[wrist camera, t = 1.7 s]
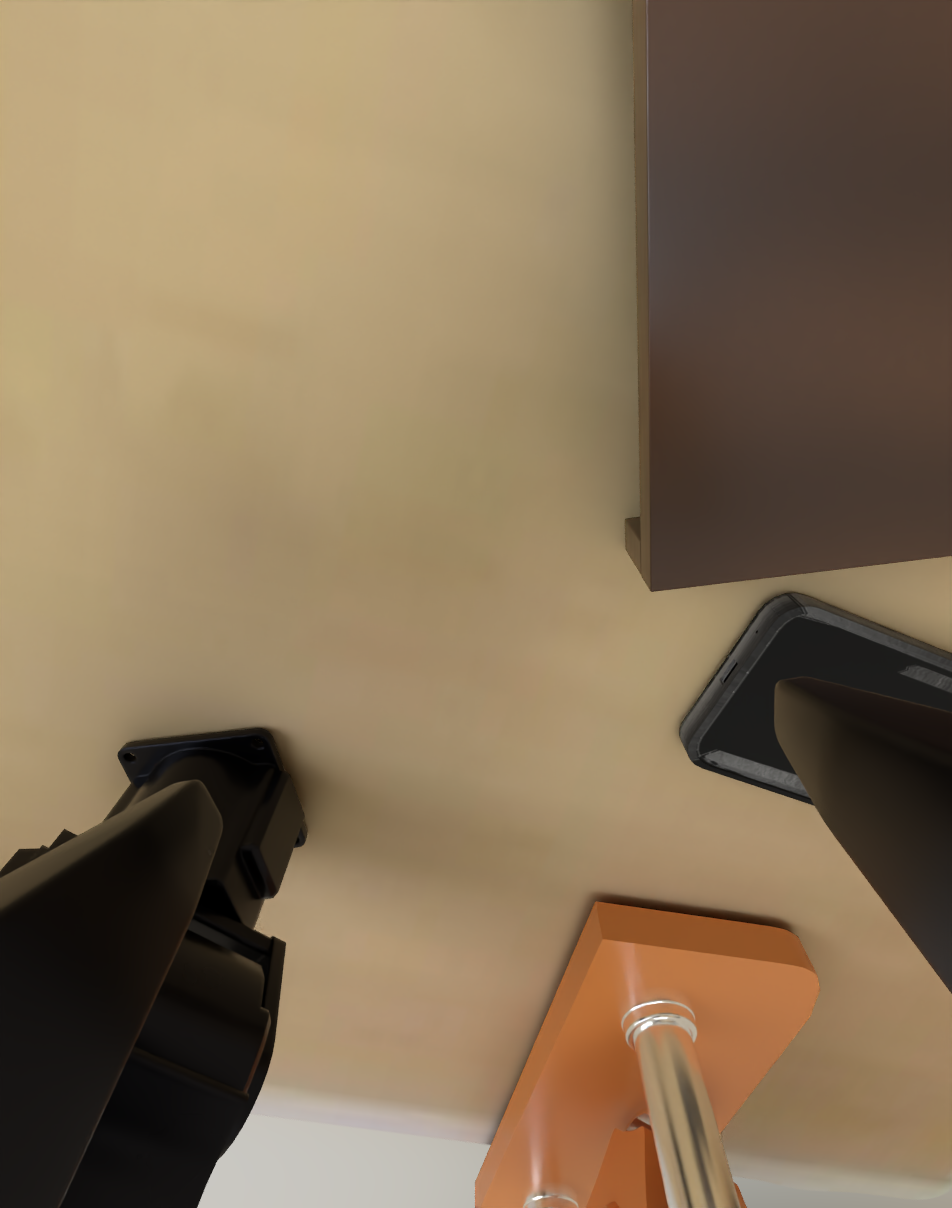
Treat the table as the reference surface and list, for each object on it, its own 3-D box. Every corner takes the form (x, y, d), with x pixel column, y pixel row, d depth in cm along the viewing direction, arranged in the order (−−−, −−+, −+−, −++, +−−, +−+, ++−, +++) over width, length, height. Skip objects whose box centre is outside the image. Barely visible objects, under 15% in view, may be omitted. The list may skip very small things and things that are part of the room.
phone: (975, 859, 26) (676, 760, 24) (956, 838, 27) (668, 741, 25) (1123, 725, 23) (793, 594, 20) (1095, 707, 24) (779, 581, 21)
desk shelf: (979, 506, 20) (1070, 542, 17) (625, 550, 21) (650, 592, 18) (1184, -326, 12) (1424, -542, 9) (603, -204, 13) (642, -366, 10)
